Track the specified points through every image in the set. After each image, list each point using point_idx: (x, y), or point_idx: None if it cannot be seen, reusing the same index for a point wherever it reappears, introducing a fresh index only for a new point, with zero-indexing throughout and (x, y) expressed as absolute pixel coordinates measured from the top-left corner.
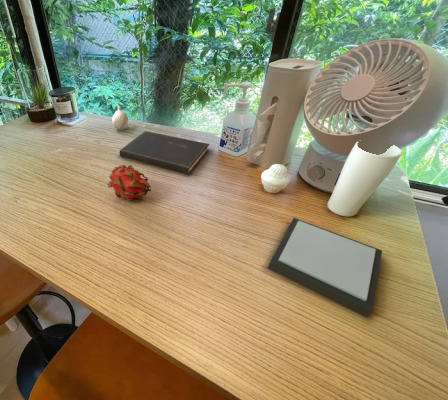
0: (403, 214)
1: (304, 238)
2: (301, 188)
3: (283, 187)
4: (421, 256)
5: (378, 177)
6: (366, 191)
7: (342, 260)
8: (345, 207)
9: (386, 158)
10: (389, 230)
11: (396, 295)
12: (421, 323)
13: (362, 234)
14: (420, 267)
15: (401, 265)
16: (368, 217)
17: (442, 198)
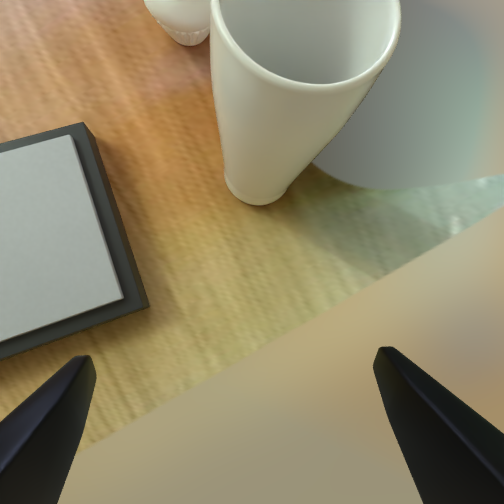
0: (364, 269)
1: (10, 180)
2: None
3: (182, 34)
4: (240, 358)
5: (245, 141)
6: (240, 166)
7: (8, 274)
8: (227, 175)
9: (240, 68)
10: (274, 278)
11: None
12: None
13: (206, 251)
14: (200, 373)
15: (171, 348)
16: (283, 228)
17: (71, 359)
